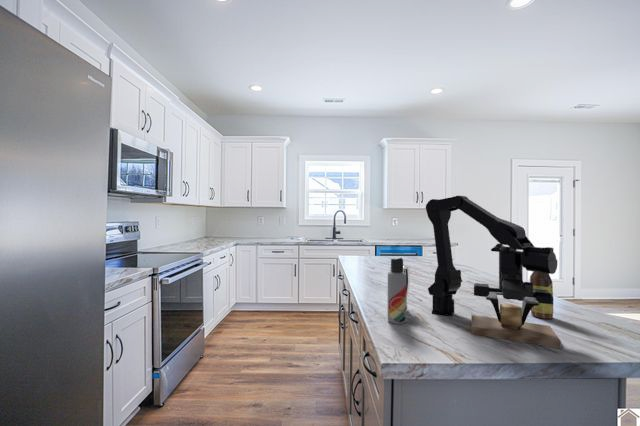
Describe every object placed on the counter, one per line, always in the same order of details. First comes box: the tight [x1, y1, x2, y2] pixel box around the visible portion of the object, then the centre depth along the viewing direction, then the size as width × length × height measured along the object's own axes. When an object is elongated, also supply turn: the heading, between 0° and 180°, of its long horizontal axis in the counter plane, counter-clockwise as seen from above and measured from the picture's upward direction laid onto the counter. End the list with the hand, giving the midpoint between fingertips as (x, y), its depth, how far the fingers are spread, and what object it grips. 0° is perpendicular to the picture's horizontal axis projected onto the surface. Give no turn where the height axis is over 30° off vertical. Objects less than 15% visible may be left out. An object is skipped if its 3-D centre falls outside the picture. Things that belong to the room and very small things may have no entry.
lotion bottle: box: [387, 257, 407, 325], centre depth 93 cm, size 6×6×20 cm
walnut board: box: [470, 314, 562, 349], centre depth 84 cm, size 20×12×2 cm, turn 63°
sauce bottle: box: [529, 271, 554, 320], centre depth 100 cm, size 7×6×20 cm
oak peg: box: [499, 303, 522, 329], centre depth 84 cm, size 5×5×7 cm
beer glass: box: [389, 266, 411, 312], centre depth 106 cm, size 7×7×15 cm
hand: (510, 323), depth 84 cm, fingers closed on oak peg, 5 cm apart
